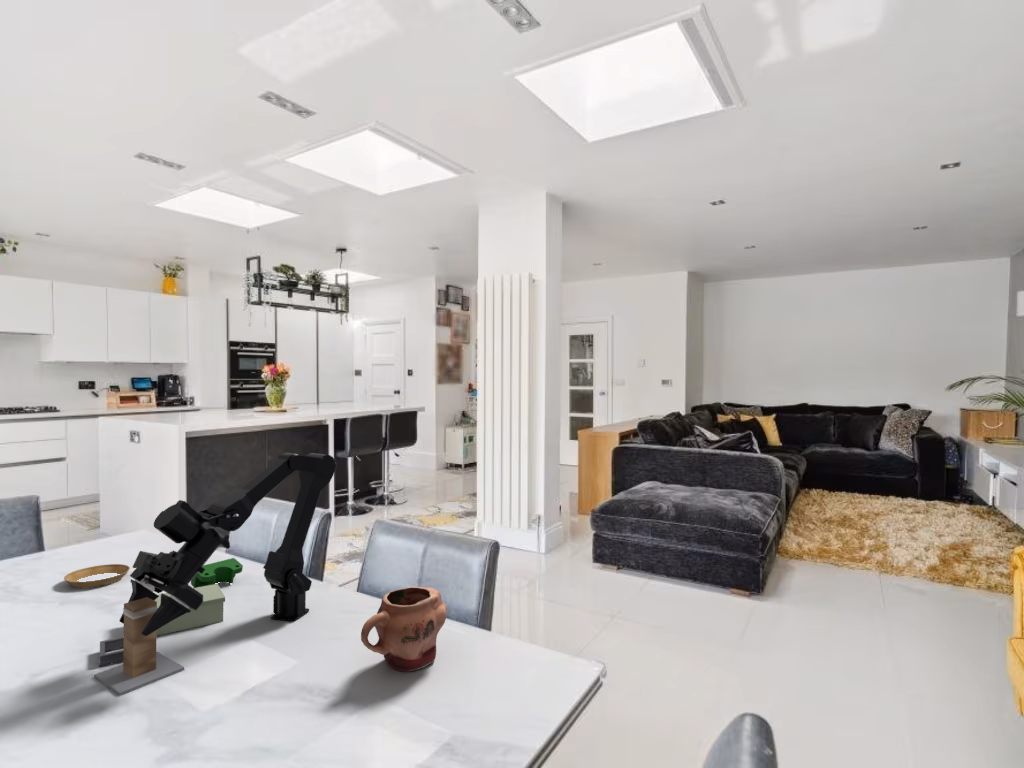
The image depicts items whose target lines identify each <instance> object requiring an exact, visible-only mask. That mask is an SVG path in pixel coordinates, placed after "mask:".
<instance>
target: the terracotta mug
mask: <svg viewBox="0 0 1024 768" xmlns="http://www.w3.org/2000/svg"><path fill="white" fill-rule="evenodd" d="M447 610H448V607H447V605H446V604H445V603H444V602H443V599H442V595H441V592H440V591H439V590H436V589H435V588H433V587H423V586H422V587H421V586H409V587H406V588H399V589H395V590H391V591H389V592H387V593H386V594H385V595H383V597H382V599H381V603H380V606H379V608H378V610H377V612H376V614H373V615H372V616H371V617H370V618H368V619H367V620H366V621H365V623H364V624H363V626H362V629H361V631H360V640H361V642H362V643H363V646H364V647H366V648H367V649H368V650H370V651H372V652H373V653H377V654H380V655H383V658H384V661H385V662H386V664H387V666H388V667H389V668H392V669H393V670H396V671H400V672H412V671H416V670H419V669H422V668H425V667H426V666H429V664H431V663H433V662H434V661H435V660H436V656H437V637H438V634H439V633H440V630H441V629H442V628H443V626H444V624H445V622H446V619H447ZM373 628H375V630H376V633H377V637H378V640H377V642H376V643H375V644H372V643H370V641H369V636H370V635H369V634H370V633H371V631H372V630H373Z"/></svg>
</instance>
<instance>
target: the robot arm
mask: <svg viewBox="0 0 1024 768" xmlns="http://www.w3.org/2000/svg"><path fill="white" fill-rule="evenodd" d="M336 470H337V462H336V460H335V458H334V456H332V455H330V454H324V453H315V452H311V453H310V452H309V453H308V454H306V455H299V454H297V453H291V452H283V453H281V454H279V455H278V457H277V458H276V460H275V461H273V462H272V463H271V464H269V466H267V467H266V468H264V470H262V471H261V472H260V473H259V474H257V475H256V476H255V477H254V478H252V479H251V480H250V481H248V483H246V484H244V486H242V488H240V489H238V490H237V491H235V492H233V493H229V494H226V495H223V497H220V499H217V500H215V501H214V502H212V504H210V505H209V507H207V508H204V509H201V510H198V511H196V510H195V509H194V508H193V507H192V506H191V505H190V504H189V503H188V502H186V501H185V500H183V499H182V500H181V499H179V500H178V501H177V502H176V503H175V504H172V505H170V506H168V507H166V508H165V509H164V510H162V511H161V512H159V514H158V515H157V517H156V518H155V519H154V521H153V528H154V529H156V530H158V531H159V532H160V533H161V534H163V535H164V536H165V537H167V538H168V539H170V540H171V541H172V542H174V543H175V544H182V543H183V544H182V546H180V548H179V549H178V550H177V551H176V550H172V551H170V552H169V553H166V552H163V551H160V552H159V553H152V552H148V551H143V550H140V551H139V552H138V554H137V556H136V558H135V560H134V563H133V565H132V568H133V569H134V570H133V572H131V573H130V575H129V577H130V578H132V579H130V584H131V588H132V592H131V595H130V598H129V600H128V602H132V601H135V600H139V599H142V598H146V597H148V598H150V599H152V600H155V599H157V598H158V597H159V596H158V594H161V604H160V606H159V607H158V609H157V610H156V612H155V613H154V615H153V616H152V617H151V619H150V620H149V622H148V623H147V625H146V626H145V628H144V629H143V631H142V634H143V635H144V636H148V635H149V634H151V633H153V632H154V631H156V630H157V629H159V628H161V627H162V626H164V625H166V624H167V623H169V622H171V621H173V620H174V619H176V618H178V617H180V616H182V615H184V614H185V613H190V612H191V610H189V608H192V609H194V610H197V609H198V608H199V607H200V605H201V604H202V603H203V595H202V594H201V593H199V592H198V591H196V590H195V589H193V588H194V587H193V586H192V585H189V584H190V583H191V580H192V579H193V577H194V576H195V575H196V574H197V573H201V574H202V573H203V572H204V570H205V569H204V568H203V567H202V566H203V565H206V563H207V562H208V560H209V559H210V558H211V556H212V555H213V554H214V553H215V552H216V550H217V549H218V548H219V547H220V548H224V549H226V550H227V549H230V548H231V544H230V535H229V534H225V533H222V534H221V533H219V532H218V531H217V530H216V529H219V530H222V531H226V532H235V531H237V530H239V529H240V528H241V527H242V526H243V525H244V524H245V522H247V520H248V519H249V518H250V517H251V515H252V513H253V511H254V509H255V507H256V505H258V503H260V501H262V500H263V499H264V498H265V497H266V496H267V495H268V494H270V493H271V492H272V491H273V490H274V489H276V487H279V485H280V484H281V483H282V482H283V481H284V480H285V479H287V478H288V477H289V476H290V475H291V474H293V472H295V471H299V473H298V476H299V477H298V478H299V483H300V488H299V491H298V494H297V496H296V497H297V498H296V500H295V503H294V506H293V509H292V513H291V515H290V518H289V522H288V525H287V527H286V531H285V534H284V536H283V539H282V543H281V545H280V546H279V547H278V548H277V549H276V550H275V551H271V550H270V551H269V552H268V554H267V559H266V562H265V564H264V565H263V567H262V569H264V572H263V577H264V578H265V580H266V582H268V584H269V585H270V588H271V589H273V590H274V595H273V605H272V606H273V607H272V608H273V614H272V615H270V619H271V620H278V621H279V620H280V621H285V622H286V621H288V622H296V621H297V620H299V618H301V617H303V616H304V615H305V614H307V613H309V612H310V608H307V607H306V600H307V599H306V598H307V597H306V596H307V595H306V594H307V592H308V591H310V589H311V587H312V582H313V581H312V580H311V579H310V578H308V577H307V576H306V575H305V574H304V573H303V572H304V567H305V561H304V554H303V548H304V545H305V542H306V539H307V536H308V533H309V530H310V526H311V524H312V520H313V518H314V513H315V511H316V508H317V505H318V502H319V499H320V496H321V492H322V491H323V490H324V488H325V487H327V486H328V485H329V484H330V482H331V481H332V479H333V477H334V474H335V472H336ZM203 525H205V526H208V527H209V526H210V527H211V528H205V526H203ZM163 592H165V593H168V594H170V597H169V596H167V595H165V594H164V593H163ZM128 602H127V603H128ZM119 623H122V624H123V625H124V614H123V613H122V614H121V616H120V618H119Z"/></svg>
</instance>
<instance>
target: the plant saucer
mask: <svg viewBox="0 0 1024 768" xmlns="http://www.w3.org/2000/svg"><path fill="white" fill-rule="evenodd" d="M130 569H131V567H130V566H129V565H128V564H120V563H118V564H117V563H115V564H114V563H110V564H101V565H93V566H89V567H88V566H87V567H84V568H81V569H77V570H74V571H72V572H69V573H67V574H66V575H65V576H64V577H63V580H64V581H65V582H66V583H68V584H69V585H70V586H71V587H74V588H77V587H78V589H92V588H91V587H93V588H98V587H97V586H100V587H103V586H102V585H105V586H108V585H111V584H110V583H112V584H114V583H117V582H119V581H121V579H122V578H124V577H125V576H126V575H127V574H128V572H129V571H130ZM104 573H117V574H120V575H117V576H114V577H110V578H106V579H101V580H95V581H86V582H79V581H77V580H79V579H81V578H85V577H88V576H92V575H97V574H104ZM118 580H119V581H118ZM116 581H117V582H116ZM113 582H114V583H113ZM107 584H108V585H107Z"/></svg>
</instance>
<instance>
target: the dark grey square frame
mask: <svg viewBox="0 0 1024 768" xmlns="http://www.w3.org/2000/svg"><path fill="white" fill-rule="evenodd" d="M123 647H124V636H120V637H115V638H111V639H107V640H101V641H99V667H104V666H110V665H113V664H117V663H118V664H119V663H123ZM119 649H120V650H119ZM114 650H115V651H114ZM110 651H111V652H110ZM106 652H107V653H106Z"/></svg>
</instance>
